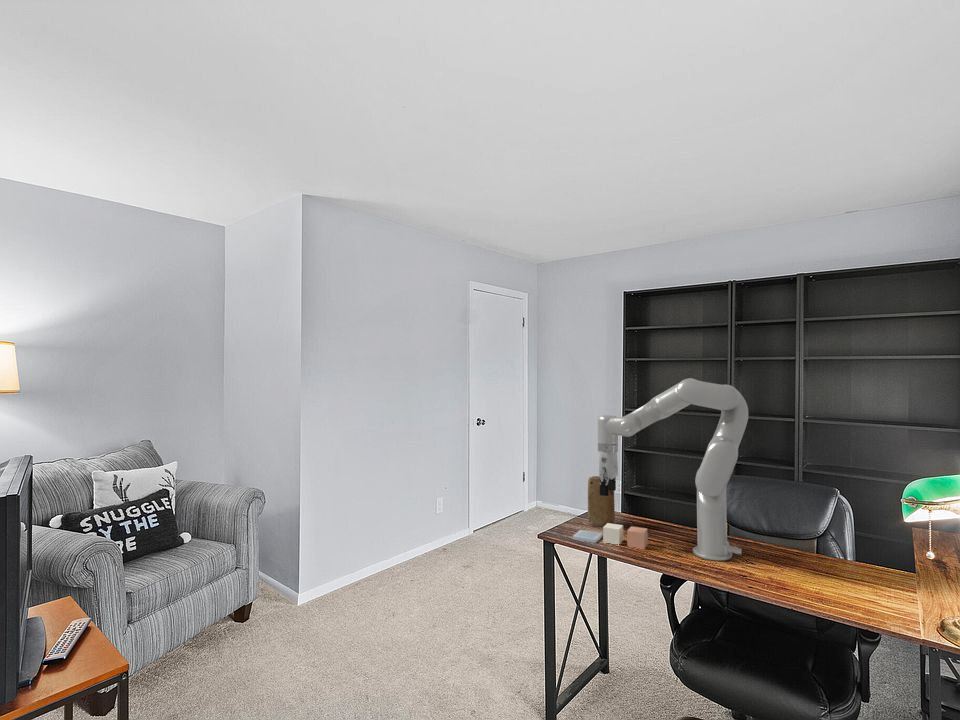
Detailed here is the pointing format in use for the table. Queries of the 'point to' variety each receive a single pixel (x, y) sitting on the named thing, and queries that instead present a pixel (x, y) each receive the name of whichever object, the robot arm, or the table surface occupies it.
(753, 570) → the table surface
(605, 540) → the cream brick
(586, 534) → the plate
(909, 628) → the table surface
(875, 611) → the table surface
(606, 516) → the block
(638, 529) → the terracotta brick
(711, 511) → the robot arm
